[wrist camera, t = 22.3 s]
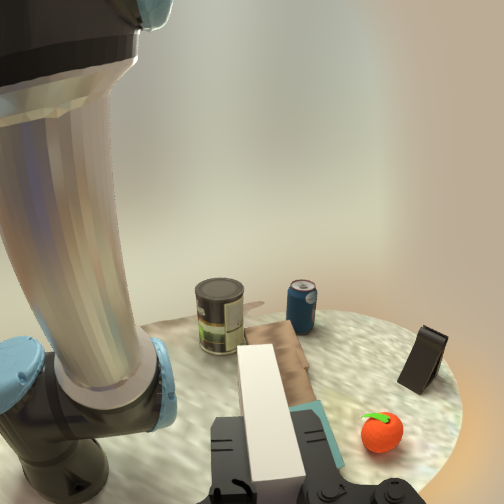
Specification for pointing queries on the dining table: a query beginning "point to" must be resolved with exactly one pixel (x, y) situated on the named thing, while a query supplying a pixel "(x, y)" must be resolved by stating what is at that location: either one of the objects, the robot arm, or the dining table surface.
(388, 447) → the clementine
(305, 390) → the walnut domino
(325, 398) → the dining table surface
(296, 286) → the soda can
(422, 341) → the phone stand
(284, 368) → the walnut domino
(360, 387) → the dining table surface
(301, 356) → the walnut domino
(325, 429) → the teal domino
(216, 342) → the coffee can
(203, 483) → the dining table surface
